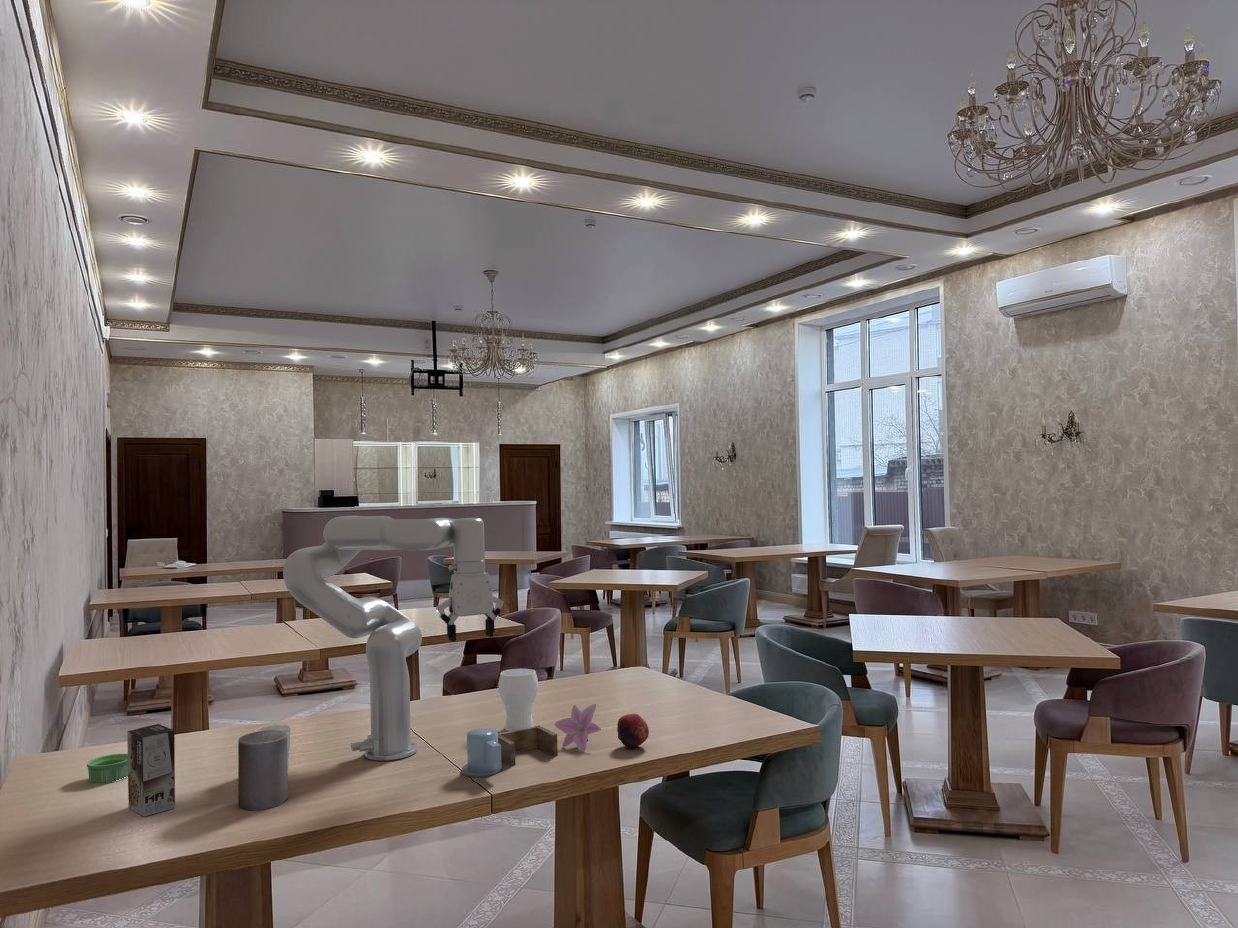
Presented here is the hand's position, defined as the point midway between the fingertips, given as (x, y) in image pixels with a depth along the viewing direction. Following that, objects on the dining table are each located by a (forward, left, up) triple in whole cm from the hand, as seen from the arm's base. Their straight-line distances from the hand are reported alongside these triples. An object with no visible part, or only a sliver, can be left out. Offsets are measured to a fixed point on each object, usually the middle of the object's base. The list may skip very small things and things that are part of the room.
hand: (471, 638), depth 202 cm
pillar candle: (-48, -2, -28) cm, 56 cm away
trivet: (-3, -12, -28) cm, 31 cm away
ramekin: (-75, +37, -29) cm, 88 cm away
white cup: (-43, +17, -28) cm, 54 cm away
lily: (+24, -9, -29) cm, 39 cm away
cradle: (+10, -8, -28) cm, 31 cm away
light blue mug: (-3, -15, -27) cm, 32 cm away
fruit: (+34, -19, -28) cm, 48 cm away
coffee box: (-68, +9, -28) cm, 74 cm away
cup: (+19, +14, -28) cm, 37 cm away
